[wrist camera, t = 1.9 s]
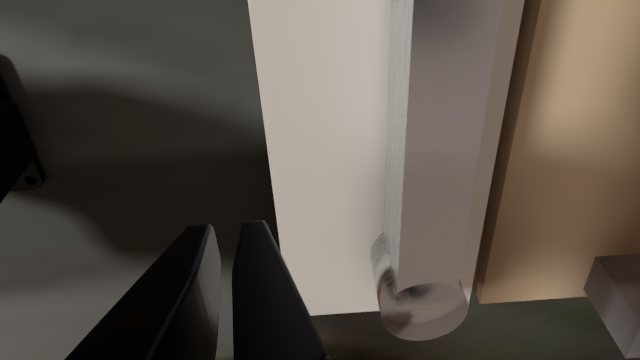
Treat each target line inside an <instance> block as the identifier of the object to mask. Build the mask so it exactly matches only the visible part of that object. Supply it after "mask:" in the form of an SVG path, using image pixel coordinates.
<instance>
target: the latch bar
mask: <svg viewBox="0 0 640 360" xmlns="http://www.w3.org/2000/svg"><path fill="white" fill-rule="evenodd" d="M502 5H503V0H391V9H390V41H389V73H388V105H387V137H386V169H385V200H384V232H383V233H382V234H381V235H380V236H379V237H378V238H377V239H376V240H375V242H374V243H373V245H372V247H371V251H370V259H371V265H372V270H373V276H374V282H375V287H376V293H377V299H378V304H379V310H380V316H381V321H382V324H383V326H384V328H385V329H386V330H387V331H388V332H389V333H391V334H392V335H394V336H396V337H398V338H401V339H405V340H412V341H422V340H430V339H434V338H438V337H441V336H443V335H445V334H448V333H449V332H451V331H453V330H454V329H455V328H457V327H458V326H459V325H460V324H461V323H462V322H463V321H464V319H465V317H466V315H467V313H468V301H467V298H466V296H465V293H464V290H463V287H462V284H461V282H460V279H459V275H460V268H461V262H462V256H463V250H464V243H465V237H466V231H467V225H468V218H469V212H470V206H471V199H472V193H473V187H474V181H475V174H476V168H477V162H478V155H479V149H480V143H481V137H482V130H483V124H484V118H485V112H486V105H487V99H488V93H489V86H490V80H491V74H492V68H493V61H494V55H495V49H496V43H497V36H498V30H499V24H500V17H501V11H502Z"/></svg>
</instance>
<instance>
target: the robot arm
mask: <svg viewBox="0 0 640 360" xmlns="http://www.w3.org/2000/svg"><path fill="white" fill-rule="evenodd" d="M36 154H37V150H36V148H35V146H34V143H33V141H32V139H31V137H30V134H29V132H28V130H27V128H26V125H25V123H24V121H23V119H22V117H21V114H20V112H19V110H18V108H17V105H16V104H15V103H14V102H13V101H12V100H11V97H10V95H9V93H8V91H7V88H6V86H5V84H4V82H3V80H2V77H1V75H0V203H1V202H2V201H3V199H4V198H5V196H6V195H7V194H8V192H9V191H18V190H33V189H38V188H40V187H41V186H42V185H43V183H44V182H45V180H46V175H45V173H44V171H43V168H42V166H41V164H40V162H39V159H38V157H37V155H36ZM29 176H32V177H34V178H35V179H36V180H33V179H31V178H30V177H29ZM220 283H221V258H220V253H219V249H218V245H217V240H216V236H215V232H214V228H213V227H212V225H210V224H198V225H189V226H188V227H186V228H185V229H184V230H183V232H182V233H181V234H180V235H179V236H178V237H177V238H176V239H175V240H174V241H173V242H172V243H171V245H170V246H169V247H168V248H167V249H166V250H165V251H164V252H163V253H162V254H161V255H160V256H159V258H158V259H157V260H156V261H155V262H154V263H153V264H152V265H151V266H150V267H149V268H148V269H147V271H146V272H145V273H144V274H143V275H142V276H141V277H140V278H139V279H138V280H137V281H136V282H135V284H134V285H133V286H132V287H131V288H130V289H129V290H128V291H127V292H126V293H125V294H124V295H123V297H122V298H121V299H120V300H119V301H118V302H117V303H116V304H115V305H114V306H113V307H112V309H111V310H110V311H109V312H108V313H107V314H106V315H105V316H104V317H103V318H102V319H101V320H100V322H99V323H98V324H97V325H96V326H95V327H94V328H93V329H92V330H91V331H90V332H89V333H88V335H87V336H86V337H85V338H84V339H83V340H82V341H81V342H80V343H79V344H78V345H77V346H76V348H75V349H74V350H73V351H72V352H71V353H70V354H69V355H68V356H67V357H66V358H65V359H64V360H215V356H216V349H217V337H218V321H219V302H220ZM232 302H233V344H234V360H331V358H330V357H329V354H328V352H327V350H326V348H325V346H324V343H323V341H322V339H321V337H320V335H319V333H318V331H317V329H316V327H315V324H314V322H313V320H312V318H311V316H310V314H309V312H308V310H307V308H306V306H305V303H304V301H303V299H302V297H301V295H300V293H299V291H298V289H297V287H296V284H295V282H294V280H293V278H292V276H291V274H290V272H289V270H288V268H287V266H286V263H285V261H284V259H283V257H282V255H281V253H280V251H279V249H278V247H277V244H276V242H275V240H274V238H273V236H272V234H271V232H270V230H269V228H268V226H267V224H266V222H265V221H263V220H258V221H245V222H243V223H242V225H241V229H240V233H239V238H238V243H237V248H236V253H235V258H234V264H233V270H232Z"/></svg>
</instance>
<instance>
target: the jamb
mask: <svg viewBox="0 0 640 360" xmlns="http://www.w3.org/2000/svg"><path fill="white" fill-rule="evenodd" d="M524 1H525V0H503V5H502V11H501V17H500V24H499V30H498V36H497V43H496V49H495V55H494V61H493V68H492V74H491V80H490V86H489V93H488V99H487V105H486V112H485V118H484V124H483V130H482V137H481V143H480V149H479V155H478V162H477V168H476V174H475V181H474V187H473V193H472V199H471V206H470V212H469V218H468V225H467V231H466V237H465V243H464V250H463V256H462V262H461V268H460V275H459V279H460V282H461V284H462V287H463V290H464V293H465V296H466V298H467V301H468V305H469V301H470V295H471V290H472V284H473V279H474V273H475V268H476V262H477V257H478V252H479V246H480V241H481V235H482V230H483V224H484V219H485V213H486V208H487V203H488V197H489V192H490V186H491V181H492V175H493V170H494V164H495V159H496V154H497V148H498V143H499V137H500V132H501V126H502V121H503V115H504V110H505V105H506V99H507V94H508V88H509V83H510V77H511V72H512V66H513V61H514V56H515V50H516V45H517V39H518V34H519V28H520V23H521V17H522V12H523V7H524ZM248 7H249V14H250V22H251V29H252V37H253V45H254V52H255V60H256V68H257V75H258V83H259V90H260V98H261V106H262V113H263V121H264V128H265V136H266V144H267V151H268V159H269V166H270V174H271V182H272V189H273V197H274V205H275V212H276V220H277V227H278V235H279V243H280V250H281V255H282V257H283V259H284V261H285V263H286V266H287V268H288V270H289V272H290V274H291V276H292V278H293V280H294V282H295V284H296V287H297V289H298V291H299V293H300V295H301V297H302V299H303V301H304V303H305V306H306V308H307V310H308V312H309V314H310V316H312V315H327V314H341V313H356V312H370V311H380V310H379V304H378V299H377V293H376V287H375V282H374V276H373V270H372V265H371V259H370V251H371V247H372V245H373V243H374V242H375V240H376V239H377V238H378V237H379V236H380V235H381V234H382V233H383V232H384V200H385V169H386V137H387V105H388V73H389V41H390V9H391V0H248Z"/></svg>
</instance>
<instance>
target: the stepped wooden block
mask: <svg viewBox="0 0 640 360" xmlns="http://www.w3.org/2000/svg"><path fill="white" fill-rule="evenodd" d="M473 287H474V290H475V292H476V295H477V298H478V300H479V303H480V304H485V303H500V302H514V301H528V300H543V299H557V298H571V297H586V296H588V298H589V299H590V301H591V303H592V304H593V306H594V308H595V309H596V311H597V313H598V314H599V316H600V318H601V319H602V321H603V322H604V324H605V326H606V327H607V329H608V331H609V332H610V334H611V336H612V337H613V339H614V340H615V342H616V344H617V345H618V347H619V349H620V350H621V352H622V354H623V355H624V357H625V358H638V357H640V0H525V1H524V7H523V12H522V17H521V23H520V28H519V34H518V39H517V45H516V50H515V56H514V61H513V66H512V72H511V77H510V83H509V88H508V94H507V99H506V105H505V110H504V115H503V121H502V126H501V132H500V137H499V143H498V148H497V154H496V159H495V164H494V170H493V175H492V181H491V186H490V192H489V197H488V203H487V208H486V213H485V219H484V224H483V230H482V235H481V241H480V246H479V252H478V257H477V262H476V268H475V273H474V279H473Z"/></svg>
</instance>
